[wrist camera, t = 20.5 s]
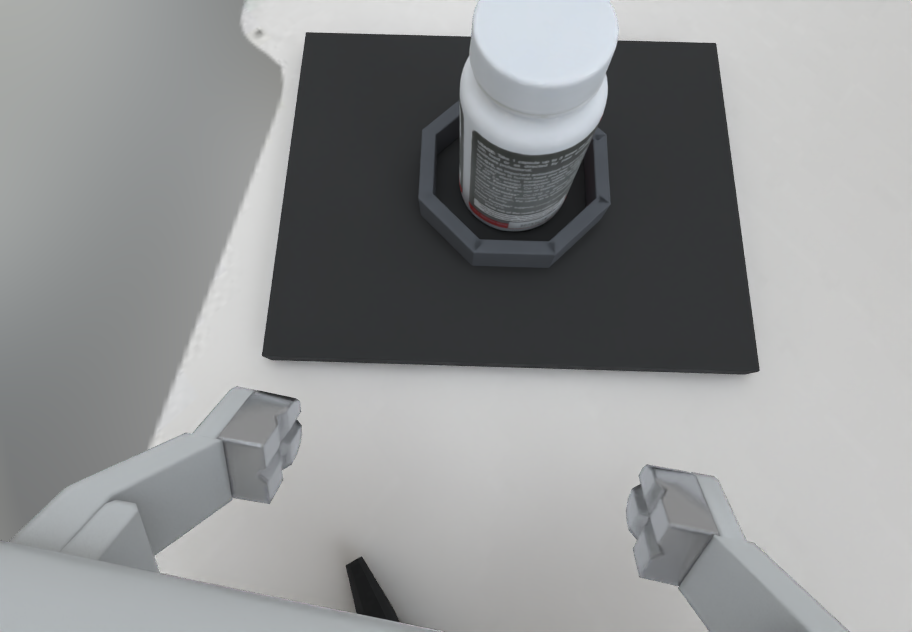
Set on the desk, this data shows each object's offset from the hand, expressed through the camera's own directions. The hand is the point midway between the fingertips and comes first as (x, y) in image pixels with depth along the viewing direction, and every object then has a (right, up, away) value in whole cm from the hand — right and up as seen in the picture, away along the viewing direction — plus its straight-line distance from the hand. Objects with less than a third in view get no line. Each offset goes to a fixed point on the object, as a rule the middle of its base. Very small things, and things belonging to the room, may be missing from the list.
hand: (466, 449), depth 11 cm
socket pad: (+2, +9, +11) cm, 14 cm away
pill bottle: (+2, +9, +10) cm, 13 cm away
